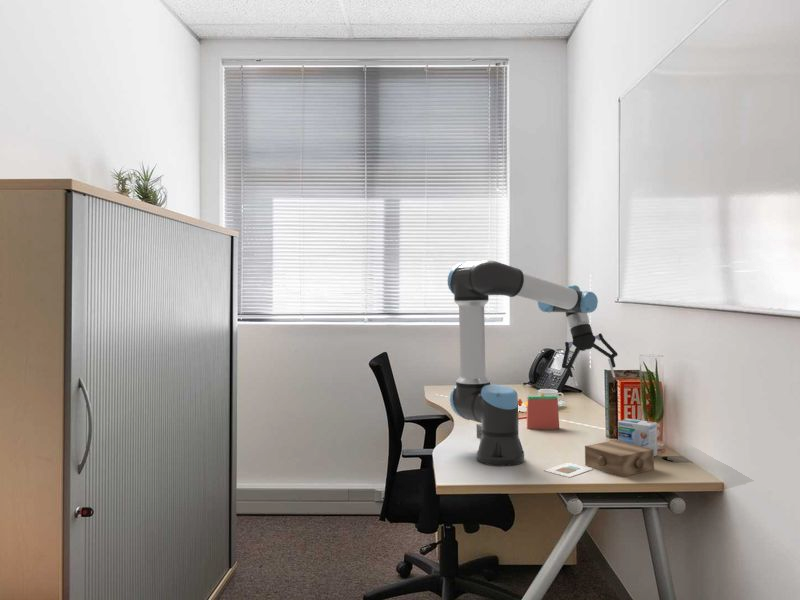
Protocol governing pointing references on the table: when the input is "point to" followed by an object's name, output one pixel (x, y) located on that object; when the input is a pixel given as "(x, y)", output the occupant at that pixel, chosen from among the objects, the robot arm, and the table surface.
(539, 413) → the toy building block set
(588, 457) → the base brick
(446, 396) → the table surface
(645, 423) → the light bulb box
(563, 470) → the white picture frame
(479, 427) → the dice cube
